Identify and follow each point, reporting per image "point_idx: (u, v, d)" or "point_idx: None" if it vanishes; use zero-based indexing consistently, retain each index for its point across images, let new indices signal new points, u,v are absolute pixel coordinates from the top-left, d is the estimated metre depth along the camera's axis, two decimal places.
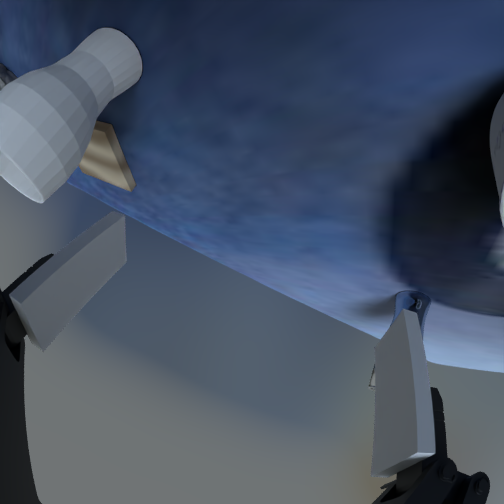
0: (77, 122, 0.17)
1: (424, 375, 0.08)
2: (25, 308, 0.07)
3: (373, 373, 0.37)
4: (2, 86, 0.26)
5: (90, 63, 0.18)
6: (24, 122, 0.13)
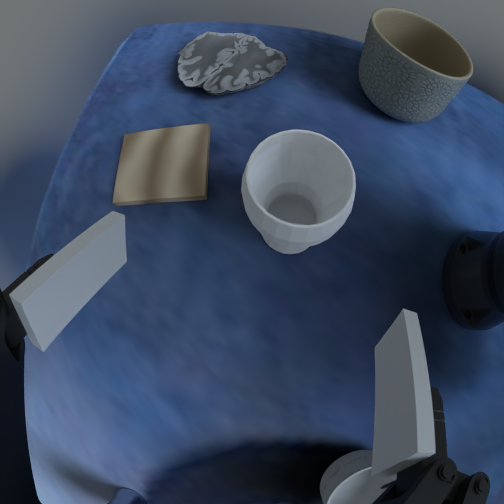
0: None
1: (424, 375, 0.08)
2: (25, 308, 0.07)
3: None
4: (258, 73, 0.42)
5: None
6: (342, 224, 0.26)
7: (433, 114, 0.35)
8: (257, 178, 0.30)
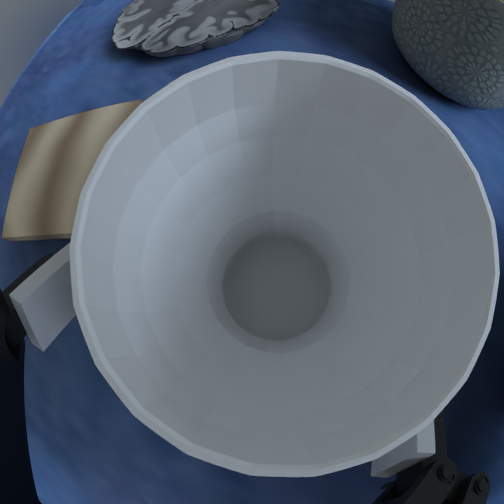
0: None
1: None
2: (25, 308, 0.07)
3: None
4: (230, 21, 0.22)
5: None
6: None
7: None
8: (181, 211, 0.11)
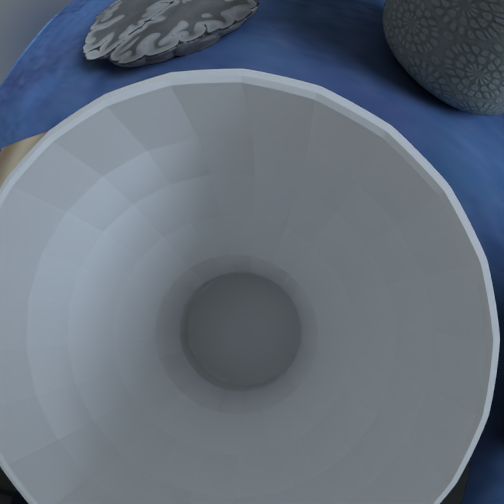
0: None
1: None
2: None
3: None
4: (204, 24, 0.21)
5: None
6: None
7: None
8: (112, 267, 0.09)
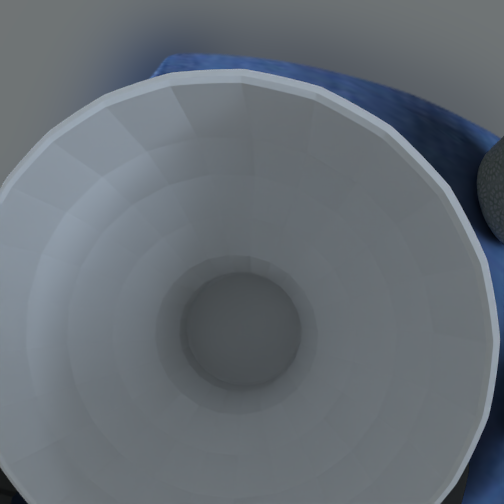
0: None
1: None
2: None
3: None
4: None
5: None
6: None
7: None
8: (112, 268, 0.09)
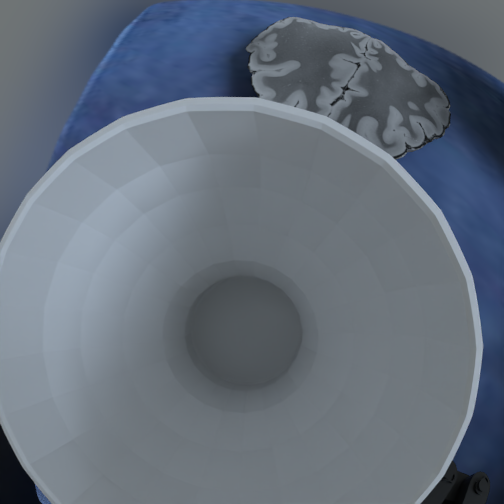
0: None
1: None
2: None
3: None
4: (418, 122, 0.20)
5: None
6: None
7: None
8: (123, 273, 0.10)
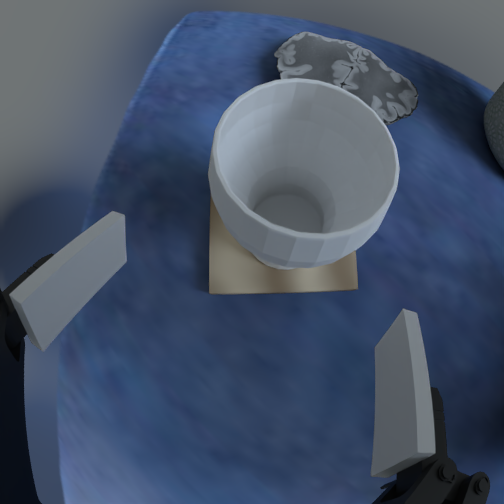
0: None
1: (424, 375, 0.08)
2: (25, 308, 0.07)
3: None
4: (393, 106, 0.30)
5: None
6: (375, 231, 0.15)
7: None
8: (237, 159, 0.20)
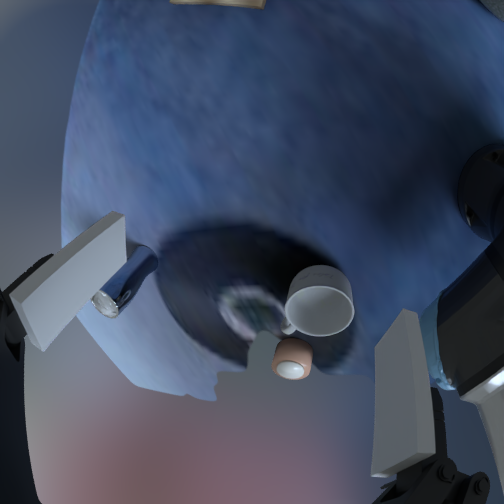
0: None
1: (424, 375, 0.08)
2: (25, 308, 0.07)
3: (106, 282, 0.46)
4: None
5: None
6: None
7: None
8: None
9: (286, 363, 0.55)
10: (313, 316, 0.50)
